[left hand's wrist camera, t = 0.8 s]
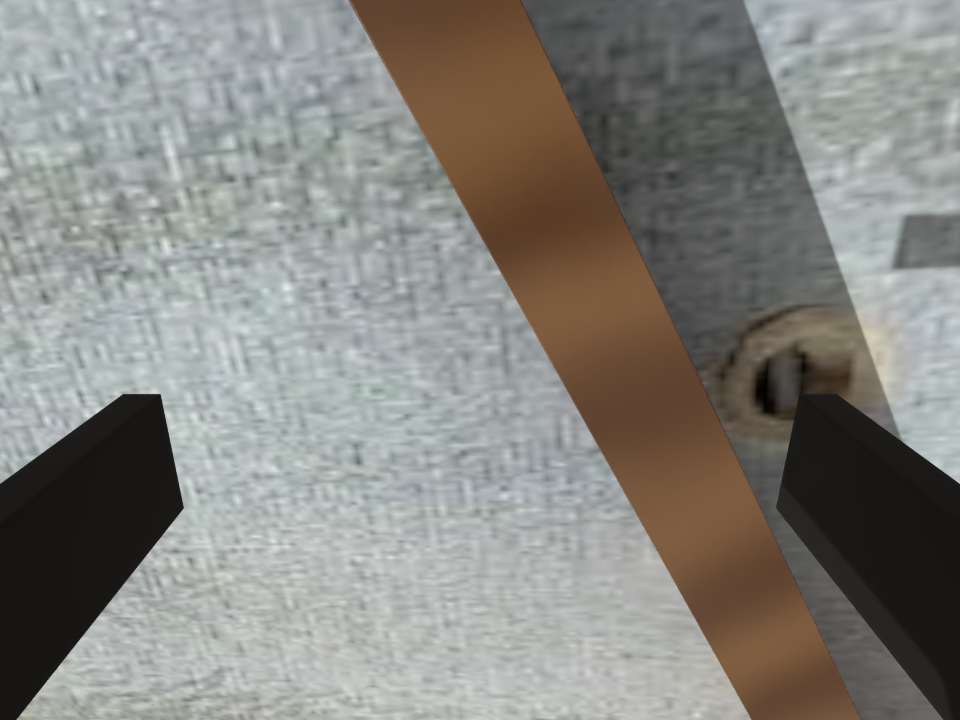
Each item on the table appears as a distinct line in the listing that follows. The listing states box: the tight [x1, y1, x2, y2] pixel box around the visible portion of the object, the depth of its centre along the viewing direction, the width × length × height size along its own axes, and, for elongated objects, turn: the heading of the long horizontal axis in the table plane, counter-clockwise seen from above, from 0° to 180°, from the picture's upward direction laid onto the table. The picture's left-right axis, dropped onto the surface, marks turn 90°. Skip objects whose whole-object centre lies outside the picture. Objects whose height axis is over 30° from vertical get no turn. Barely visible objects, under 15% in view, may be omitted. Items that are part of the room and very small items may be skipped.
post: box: [349, 0, 861, 720], centre depth 32 cm, size 69×5×7 cm, turn 30°
